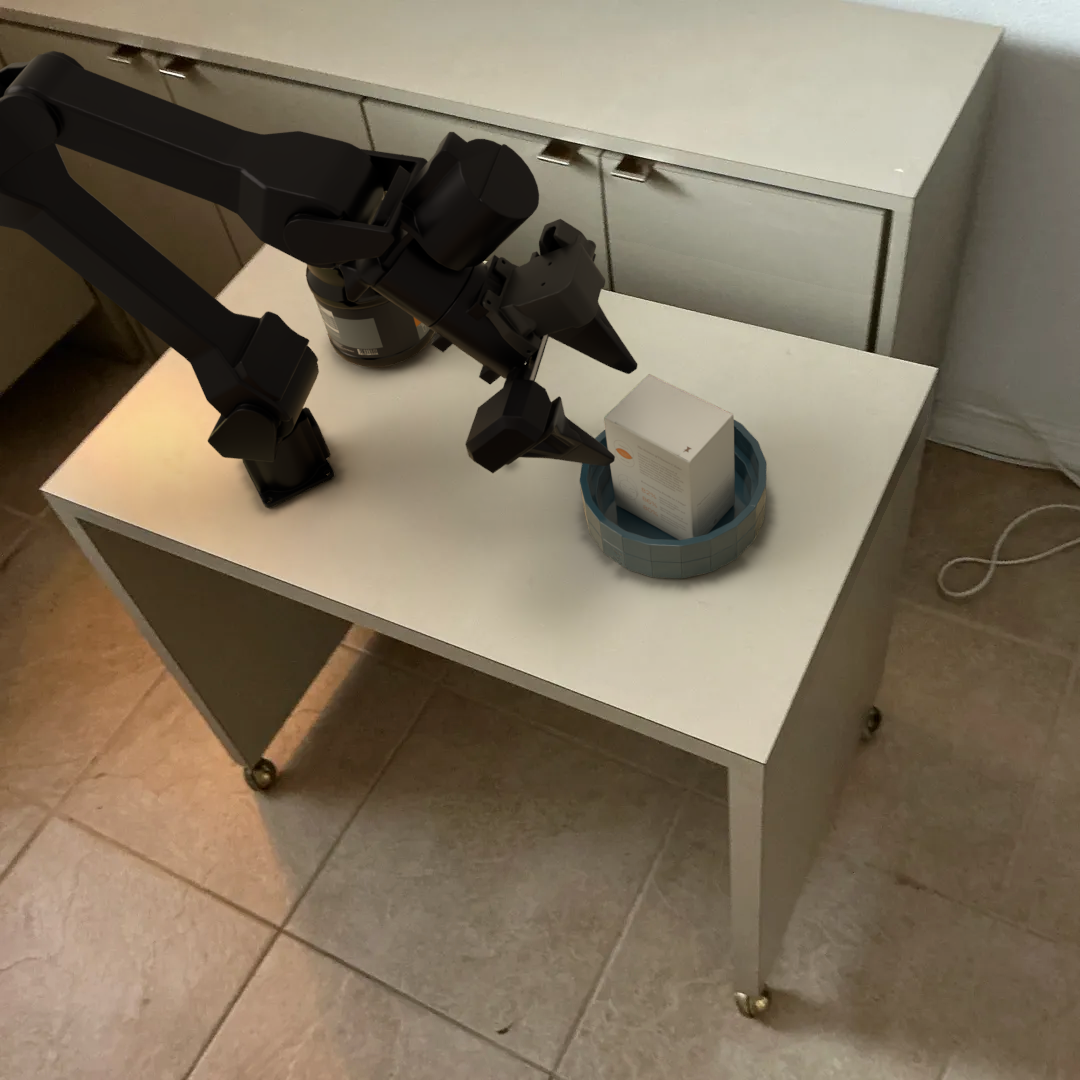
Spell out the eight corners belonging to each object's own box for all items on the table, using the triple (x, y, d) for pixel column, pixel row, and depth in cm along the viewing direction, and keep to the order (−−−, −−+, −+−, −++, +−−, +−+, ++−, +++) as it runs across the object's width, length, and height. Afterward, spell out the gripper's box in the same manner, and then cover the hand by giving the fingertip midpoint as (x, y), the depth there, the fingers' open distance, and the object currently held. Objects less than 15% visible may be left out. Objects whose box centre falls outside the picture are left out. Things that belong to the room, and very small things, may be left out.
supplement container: (453, 299, 108) (427, 195, 99) (422, 377, 103) (391, 274, 93) (352, 293, 111) (318, 191, 101) (316, 369, 105) (276, 268, 96)
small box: (736, 505, 89) (737, 414, 80) (694, 551, 87) (691, 463, 78) (655, 461, 93) (648, 370, 84) (613, 505, 90) (601, 415, 82)
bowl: (644, 610, 84) (640, 576, 81) (555, 488, 93) (548, 453, 89) (801, 527, 87) (804, 490, 84) (701, 416, 95) (700, 378, 92)
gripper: (481, 328, 65) (678, 467, 71) (550, 137, 76) (716, 272, 82) (387, 411, 73) (571, 530, 79) (462, 228, 84) (619, 345, 90)
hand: (622, 414), depth 82 cm, fingers open, 9 cm apart
